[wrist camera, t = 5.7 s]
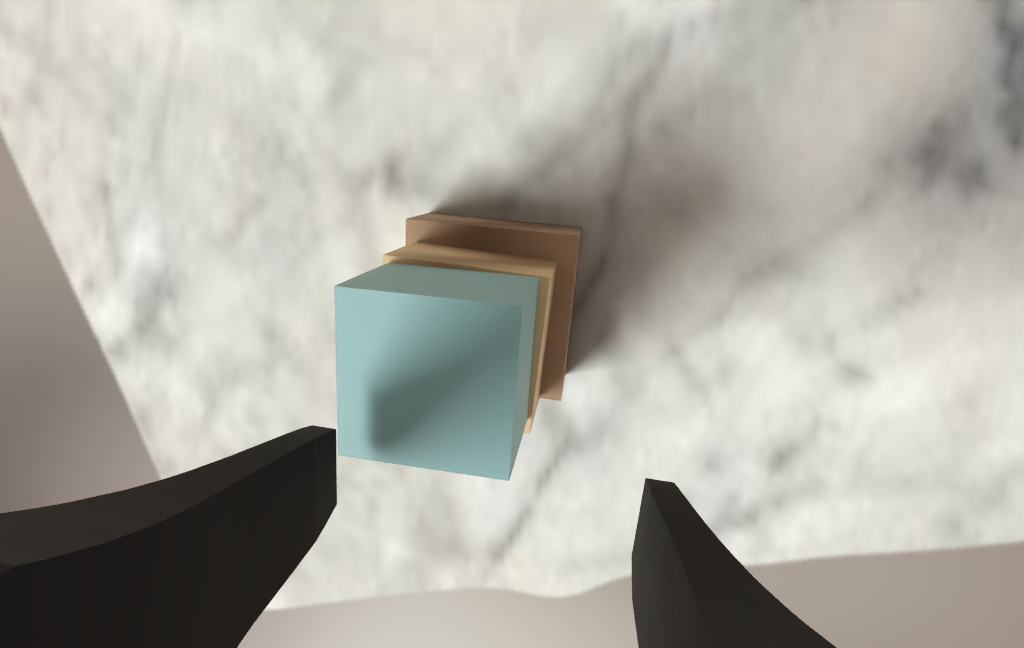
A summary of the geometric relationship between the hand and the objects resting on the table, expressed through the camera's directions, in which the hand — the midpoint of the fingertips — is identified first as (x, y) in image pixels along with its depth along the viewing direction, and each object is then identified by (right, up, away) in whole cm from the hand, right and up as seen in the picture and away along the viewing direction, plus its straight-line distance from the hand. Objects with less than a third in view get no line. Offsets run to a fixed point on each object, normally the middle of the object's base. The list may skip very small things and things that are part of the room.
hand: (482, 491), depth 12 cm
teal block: (-1, +3, +4) cm, 5 cm away
